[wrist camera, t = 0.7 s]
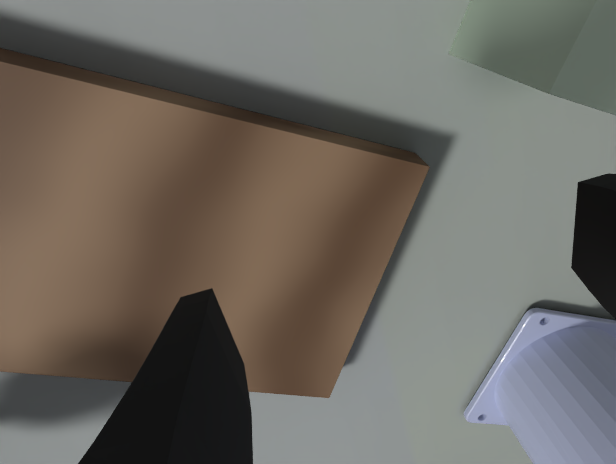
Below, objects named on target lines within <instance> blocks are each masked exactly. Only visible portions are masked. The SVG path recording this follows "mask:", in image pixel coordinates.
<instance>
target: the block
mask: <svg viewBox="0 0 616 464" xmlns="http://www.w3.org/2000/svg"><path fill="white" fill-rule="evenodd" d="M449 54H450V55H452V56H455V57H457V58H460V59H462V60H465V61H467V62H470V63H472V64H475V65H477V66H480V67H482V68H485V69H488V70H490V71H493V72H495V73H498V74H500V75H503V76H505V77H508V78H510V79H513V80H515V81H518V82H520V83H523V84H525V85H528V86H530V87H533V88H536V89H538V90H541V91H543V92H546V93H548V94H551V95H554V96H557V97H560V98H564V99H567V100H570V101H573V102H576V103H579V104H582V105H585V106H588V107H591V108H595V109H598V110H601V111H604V112H607V113H610V114H613V115H616V0H471V1H470V3H469V5H468V8H467V10H466V13H465V15H464V18H463V20H462V23H461V25H460V27H459V30H458V32H457V35H456V37H455V40H454V42H453V45H452V47H451V49H450V52H449Z"/></svg>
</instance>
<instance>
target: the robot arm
mask: <svg viewBox="0 0 616 464" xmlns="http://www.w3.org/2000/svg"><path fill="white" fill-rule="evenodd" d="M571 268H572V269H573V270H574V272H575V273H576V274H577V276H578V277H579V278H580V279H581V281H582V282H583V283H584V285H585V286H586V287H587V288H588V290H589V291H590V292H591V293H592V294H593V295H594V297H595V298H596V299H597V300H598V301H599V302H600V304H601V305H602V306H603V307H604V308H605V309H606V310H607V311H608V312H609V313H610V314H611V315H612V316H613V317H614V318H615V319H616V174H605V175H601V176H598V177H595V178H591V179H588V180H584V181H581V182H578V189H577V202H576V215H575V228H574V240H573V253H572V266H571ZM464 417H465V419H466V420H467V421H468V422H472V423H486V424H500V425H509V426H510V428H511V429H512V431H513V433H514V434H515V436H516V437H517V439H518V440H519V442H520V444H521V445H522V447H523V448H524V450H525V451H526V453H527V455H528V456H529V458H530V459H531V461H532V462H533V464H616V320H610V319H604V318H597V317H591V316H585V315H579V314H572V313H566V312H560V311H554V310H547V309H541V308H532V309H530V310H528V311H527V312H526V313H525V314H524V316H523V317H522V319H521V321H520V322H519V324H518V326H517V327H516V329H515V330H514V332H513V334H512V335H511V337H510V339H509V340H508V342H507V343H506V345H505V347H504V348H503V350H502V351H501V353H500V355H499V356H498V358H497V360H496V361H495V363H494V364H493V366H492V368H491V369H490V371H489V372H488V374H487V376H486V377H485V379H484V381H483V382H482V384H481V385H480V387H479V389H478V390H477V392H476V393H475V395H474V397H473V398H472V400H471V402H470V403H469V405H468V406H467V408H466V410H465V411H464ZM78 464H253V450H252V416H251V407H250V399H249V392H248V385H247V379H246V372H245V365H244V362H243V360H242V358H241V355H240V353H239V350H238V348H237V346H236V343H235V341H234V339H233V336H232V334H231V331H230V329H229V327H228V324H227V322H226V320H225V317H224V315H223V313H222V310H221V308H220V305H219V303H218V301H217V298H216V296H215V294H214V291H213V289H212V288H211V289H207V290H204V291H200V292H197V293H193V294H190V295H186V296H183V297H180V299H179V301H178V303H177V304H176V306H175V308H174V309H173V311H172V313H171V315H170V316H169V318H168V320H167V322H166V324H165V325H164V327H163V329H162V331H161V333H160V334H159V336H158V338H157V340H156V342H155V343H154V345H153V347H152V349H151V351H150V352H149V354H148V356H147V358H146V359H145V361H144V363H143V364H142V366H141V368H140V369H139V371H138V373H137V375H136V376H135V378H134V380H133V381H132V383H131V385H130V386H129V388H128V390H127V391H126V393H125V395H124V396H123V398H122V399H121V401H120V402H119V404H118V405H117V407H116V409H115V410H114V412H113V413H112V415H111V416H110V418H109V419H108V421H107V422H106V424H105V426H104V427H103V429H102V430H101V432H100V433H99V435H98V436H97V438H96V439H95V441H94V442H93V444H92V445H91V446H90V448H89V449H88V451H87V452H86V454H85V455H84V456H83V458H82V459H81V460H80V462H79V463H78Z"/></svg>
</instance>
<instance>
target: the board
mask: <svg viewBox="0 0 616 464" xmlns="http://www.w3.org/2000/svg"><path fill="white" fill-rule="evenodd" d="M429 168H430V167H429V166H428V165H427V164H426V163H425V162H424V161H423V160H422V159H421V158H420V157H419V156H418V155H417V154H416V153H414V152H410V151H406V150H402V149H398V148H394V147H390V146H386V145H382V144H378V143H374V142H370V141H366V140H362V139H358V138H354V137H350V136H346V135H343V134H339V133H335V132H331V131H327V130H323V129H319V128H315V127H311V126H307V125H303V124H299V123H295V122H291V121H287V120H283V119H279V118H275V117H271V116H267V115H263V114H259V113H256V112H252V111H248V110H244V109H240V108H236V107H232V106H228V105H224V104H220V103H216V102H212V101H208V100H204V99H200V98H196V97H192V96H188V95H184V94H180V93H176V92H172V91H168V90H165V89H161V88H157V87H153V86H149V85H145V84H141V83H137V82H133V81H129V80H125V79H121V78H117V77H113V76H109V75H105V74H101V73H97V72H93V71H89V70H85V69H81V68H77V67H74V66H70V65H66V64H62V63H58V62H54V61H50V60H46V59H42V58H38V57H34V56H30V55H26V54H22V53H18V52H14V51H10V50H6V49H2V48H0V371H1V372H13V373H26V374H38V375H51V376H63V377H75V378H88V379H100V380H113V381H125V382H132V381H133V380H134V378H135V376H136V375H137V373H138V371H139V369H140V368H141V366H142V364H143V363H144V361H145V359H146V358H147V356H148V354H149V352H150V351H151V349H152V347H153V345H154V343H155V342H156V340H157V338H158V336H159V334H160V333H161V331H162V329H163V327H164V325H165V324H166V322H167V320H168V318H169V316H170V315H171V313H172V311H173V309H174V308H175V306H176V304H177V303H178V301H179V299H180V297H183V296H186V295H190V294H193V293H197V292H200V291H204V290H207V289H211V288H212V289H213V291H214V294H215V296H216V298H217V301H218V303H219V305H220V308H221V310H222V313H223V315H224V317H225V320H226V322H227V324H228V327H229V329H230V331H231V334H232V336H233V339H234V341H235V343H236V346H237V348H238V350H239V353H240V355H241V358H242V360H243V362H244V365H245V372H246V379H247V385H248V391H249V392H261V393H274V394H286V395H298V396H311V397H323V398H329V397H330V395H331V393H332V390H333V388H334V386H335V383H336V381H337V379H338V376H339V374H340V372H341V370H342V367H343V365H344V363H345V360H346V358H347V356H348V354H349V351H350V349H351V347H352V344H353V342H354V340H355V337H356V335H357V333H358V331H359V328H360V326H361V324H362V321H363V319H364V317H365V314H366V312H367V310H368V308H369V305H370V303H371V301H372V298H373V296H374V294H375V292H376V289H377V287H378V285H379V282H380V280H381V278H382V275H383V273H384V271H385V269H386V266H387V264H388V262H389V259H390V257H391V255H392V253H393V250H394V248H395V246H396V243H397V241H398V239H399V236H400V234H401V232H402V230H403V227H404V225H405V223H406V220H407V218H408V216H409V214H410V211H411V209H412V207H413V204H414V202H415V200H416V197H417V195H418V193H419V191H420V188H421V186H422V184H423V181H424V179H425V177H426V175H427V172H428V170H429Z"/></svg>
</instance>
